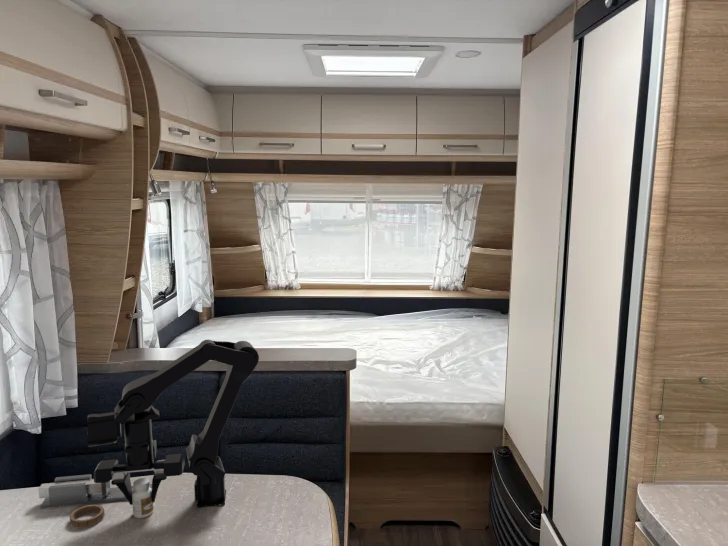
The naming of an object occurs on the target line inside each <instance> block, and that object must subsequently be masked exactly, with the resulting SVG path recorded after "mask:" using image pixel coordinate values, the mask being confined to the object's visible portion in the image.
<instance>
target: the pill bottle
mask: <svg viewBox="0 0 728 546" xmlns="http://www.w3.org/2000/svg"><path fill="white" fill-rule="evenodd" d="M150 484H151V483H150V479H149V478H147V477H140V478H138V479H136V480H134V481H133V485H132V486H134V487H133V488H134V491H133V492H132V515H133V517H134V518H138V519H141V518H146V517H149V516H150V515H152V514H153V512H154V503H152V489H151V488H150Z"/></svg>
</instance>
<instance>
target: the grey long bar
mask: <svg viewBox="0 0 728 546" xmlns="http://www.w3.org/2000/svg"><path fill="white" fill-rule="evenodd" d="M110 481H111V480H110ZM110 481H109V482H104V483H95V482H94V478H92V479H90V480H79V481H68V482H57V483H55V482H49V483H41V484H40V486H39V487H38V498H39V499H45V498H49V490H48V488H49V487H50V486H56V485H66V484H77V483H87V494H91V493H101V492H102V496H107V494H108V492H109V490H110V488H111V482H110Z"/></svg>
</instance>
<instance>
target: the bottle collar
mask: <svg viewBox="0 0 728 546" xmlns="http://www.w3.org/2000/svg"><path fill="white" fill-rule="evenodd" d="M89 513H97V515H95V516H92V517H90V518H86V519H77V518H78V517H80V516H83V515H86V514H89ZM105 515H106V514H105V508H104V507H103V505H99V504H88V505H87V504H85V505H84V506H81V507H78V508H77V509H75V510H74V511H72V512H71V514H70V516H69V524H70V525H71V527H73V528H77V529H82V528H89V527H92V526H94V525H98V523H100V522H101V521H103V519H104V518H105Z"/></svg>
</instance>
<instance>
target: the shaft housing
mask: <svg viewBox="0 0 728 546" xmlns="http://www.w3.org/2000/svg"><path fill="white" fill-rule="evenodd" d="M90 479H93V478H92V473H91V474H90V473H89V474H80V475H68V476H59V477H58V476H57V477H55V478H54V483H57V482H68V481H79V480H90ZM131 487H132V492H133V491H134V488H133V487H134V486H133V485H131ZM150 488H151V489H152V483H150ZM48 490H49V498H44V500H43V501H42V503H41V504H40V509H48V508H49V509H51V508H60V507H59V506H61V507H68V506H78V505H87V504H88V505H92V504H99V503H101V504H102V503H109V502H118V501H128V500H127V499H126V497H125V496H124V494H123V493H122V491H121V490H120V489H119V488H118V487H117V486H116V487H110V490H109V492H108V494H107V496H102V492H101V493H91V494H87V483H77V484H66V485H56V486H50V487H49V488H48Z"/></svg>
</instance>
